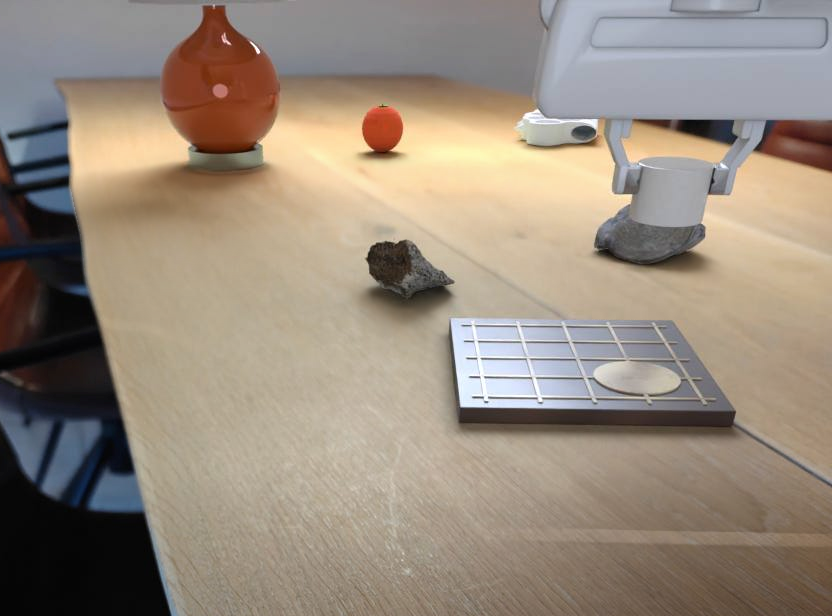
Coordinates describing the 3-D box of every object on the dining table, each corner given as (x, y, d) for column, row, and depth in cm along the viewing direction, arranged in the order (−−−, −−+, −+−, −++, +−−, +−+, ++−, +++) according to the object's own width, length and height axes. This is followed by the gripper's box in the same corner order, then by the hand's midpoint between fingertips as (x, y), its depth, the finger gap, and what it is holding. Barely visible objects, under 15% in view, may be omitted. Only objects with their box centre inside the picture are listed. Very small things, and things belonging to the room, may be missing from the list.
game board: (669, 333, 82) (673, 318, 81) (732, 426, 66) (737, 409, 66) (448, 330, 83) (449, 316, 82) (458, 422, 67) (460, 405, 66)
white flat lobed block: (595, 147, 156) (509, 144, 159) (596, 130, 170) (518, 128, 173) (598, 125, 154) (511, 122, 157) (599, 110, 168) (520, 108, 171)
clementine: (362, 147, 158) (362, 99, 153) (402, 147, 158) (403, 99, 153) (361, 155, 152) (361, 106, 147) (402, 155, 151) (404, 106, 147)
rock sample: (490, 252, 90) (426, 192, 85) (458, 318, 89) (393, 262, 84) (430, 275, 98) (369, 223, 94) (400, 336, 98) (338, 286, 93)
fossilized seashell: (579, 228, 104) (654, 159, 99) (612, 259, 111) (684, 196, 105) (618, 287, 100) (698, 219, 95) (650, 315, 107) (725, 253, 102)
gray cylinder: (692, 210, 66) (703, 156, 63) (710, 227, 62) (723, 170, 59) (622, 209, 66) (631, 156, 64) (636, 227, 62) (646, 170, 60)
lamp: (120, 173, 141) (72, -158, 117) (191, 146, 159) (162, -145, 136) (267, 183, 134) (247, -166, 111) (323, 153, 153) (317, -151, 129)
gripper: (551, -59, 52) (524, 202, 61) (915, -60, 51) (836, 205, 60) (538, -59, 57) (515, 182, 66) (870, -60, 56) (802, 184, 65)
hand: (670, 193), depth 63 cm, fingers closed on gray cylinder, 5 cm apart
